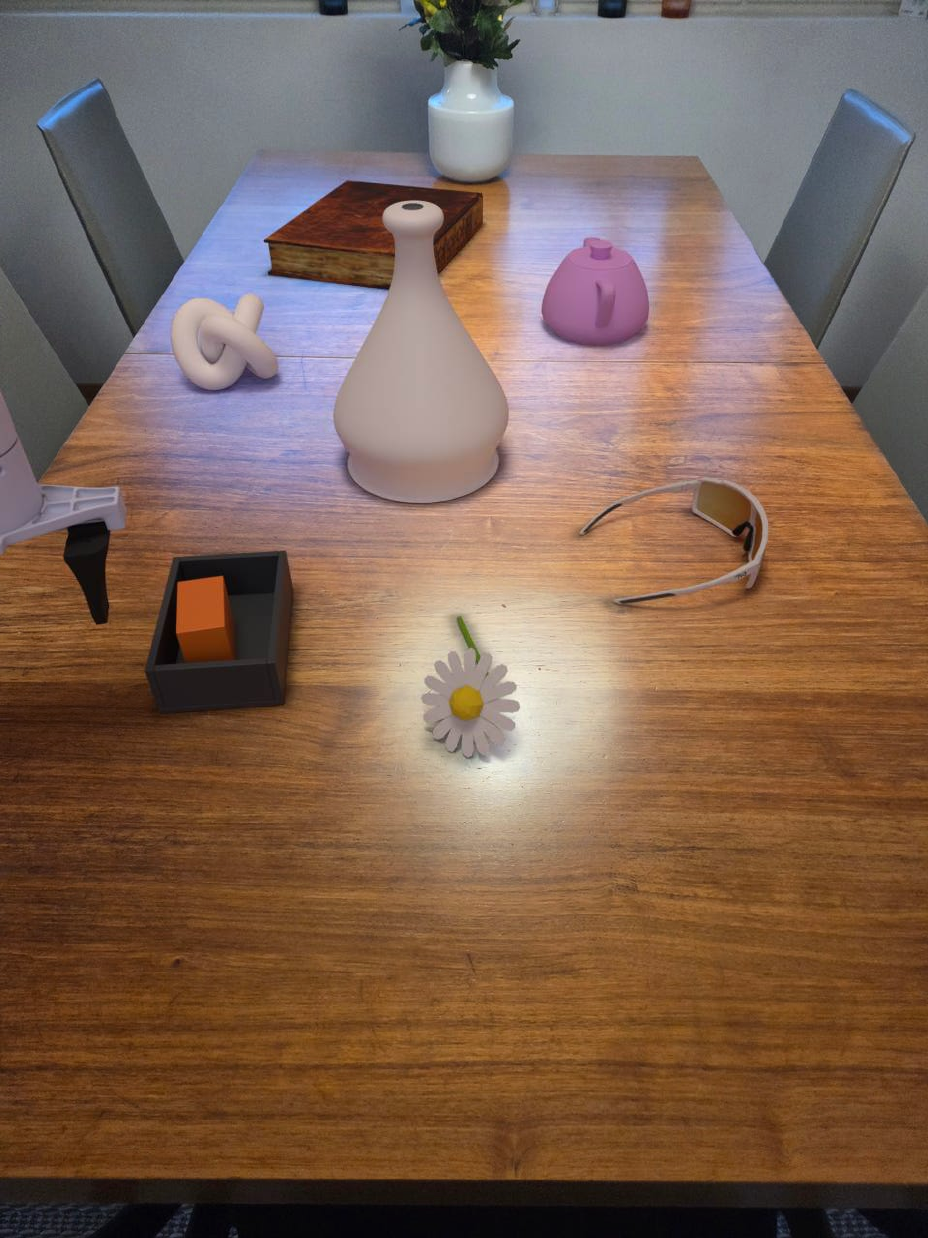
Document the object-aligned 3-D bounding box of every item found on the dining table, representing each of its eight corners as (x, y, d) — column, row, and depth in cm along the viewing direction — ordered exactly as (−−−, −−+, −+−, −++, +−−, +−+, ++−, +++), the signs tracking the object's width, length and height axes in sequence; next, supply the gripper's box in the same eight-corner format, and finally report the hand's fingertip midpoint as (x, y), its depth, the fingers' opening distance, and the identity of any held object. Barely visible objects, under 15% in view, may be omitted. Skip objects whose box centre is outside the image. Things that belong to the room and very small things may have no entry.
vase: (421, 531, 82) (408, 259, 65) (304, 462, 91) (266, 207, 74) (541, 458, 91) (557, 204, 74) (425, 402, 100) (415, 164, 83)
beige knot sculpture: (309, 373, 105) (299, 300, 99) (231, 412, 98) (215, 336, 92) (247, 348, 111) (234, 276, 105) (169, 383, 104) (150, 309, 98)
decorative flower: (436, 555, 67) (504, 691, 57) (492, 586, 71) (564, 719, 61) (374, 624, 70) (427, 766, 59) (431, 650, 74) (490, 788, 63)
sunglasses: (792, 594, 74) (799, 548, 71) (622, 637, 74) (621, 594, 70) (723, 501, 85) (726, 457, 81) (573, 538, 84) (570, 496, 81)
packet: (190, 680, 67) (175, 633, 64) (191, 628, 71) (177, 581, 68) (237, 673, 67) (224, 625, 64) (234, 622, 72) (223, 575, 68)
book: (421, 293, 123) (419, 257, 120) (268, 274, 129) (262, 239, 125) (483, 225, 144) (483, 192, 141) (349, 211, 150) (346, 179, 146)
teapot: (634, 293, 123) (644, 213, 116) (657, 357, 108) (670, 270, 101) (535, 293, 123) (539, 213, 116) (545, 357, 108) (550, 271, 101)
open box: (159, 713, 65) (144, 671, 62) (185, 598, 75) (173, 556, 72) (284, 705, 66) (274, 662, 63) (293, 591, 75) (286, 550, 72)
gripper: (-200, 502, 45) (-88, 683, 55) (91, 467, 48) (152, 646, 57) (-160, 434, 51) (-63, 609, 60) (101, 405, 53) (156, 579, 62)
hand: (43, 623), depth 59 cm, fingers open, 7 cm apart
